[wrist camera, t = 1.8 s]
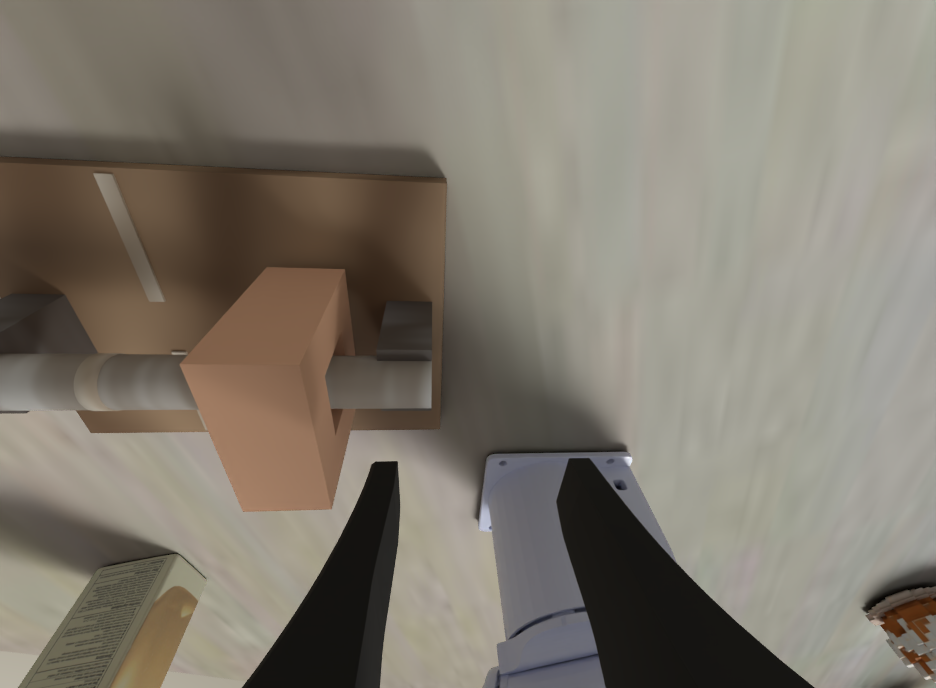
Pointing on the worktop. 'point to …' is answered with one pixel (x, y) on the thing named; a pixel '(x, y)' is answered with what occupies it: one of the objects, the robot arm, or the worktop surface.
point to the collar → (277, 388)
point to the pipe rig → (208, 283)
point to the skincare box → (122, 627)
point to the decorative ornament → (910, 627)
